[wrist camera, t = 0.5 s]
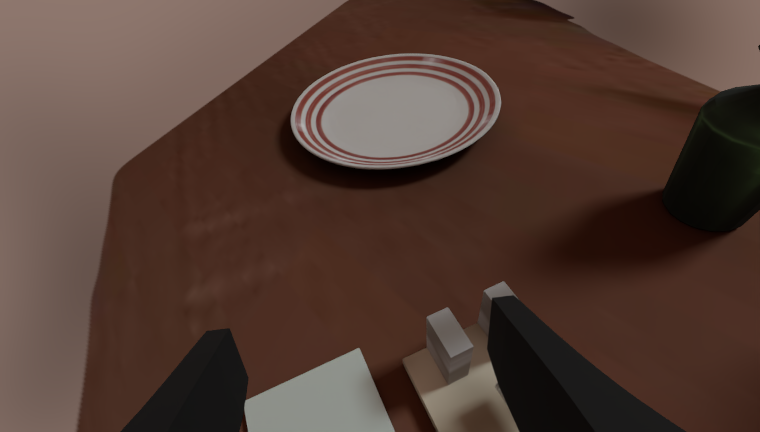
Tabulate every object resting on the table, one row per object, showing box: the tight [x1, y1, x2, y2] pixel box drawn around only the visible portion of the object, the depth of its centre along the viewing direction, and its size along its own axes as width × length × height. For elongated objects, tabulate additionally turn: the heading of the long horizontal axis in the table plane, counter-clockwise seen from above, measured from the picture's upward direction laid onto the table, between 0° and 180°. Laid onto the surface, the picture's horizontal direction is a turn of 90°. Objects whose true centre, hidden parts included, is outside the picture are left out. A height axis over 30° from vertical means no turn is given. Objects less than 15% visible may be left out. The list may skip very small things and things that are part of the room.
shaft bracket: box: [403, 281, 519, 432], centre depth 22 cm, size 14×10×6 cm
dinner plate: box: [291, 54, 501, 169], centre depth 51 cm, size 28×27×3 cm
